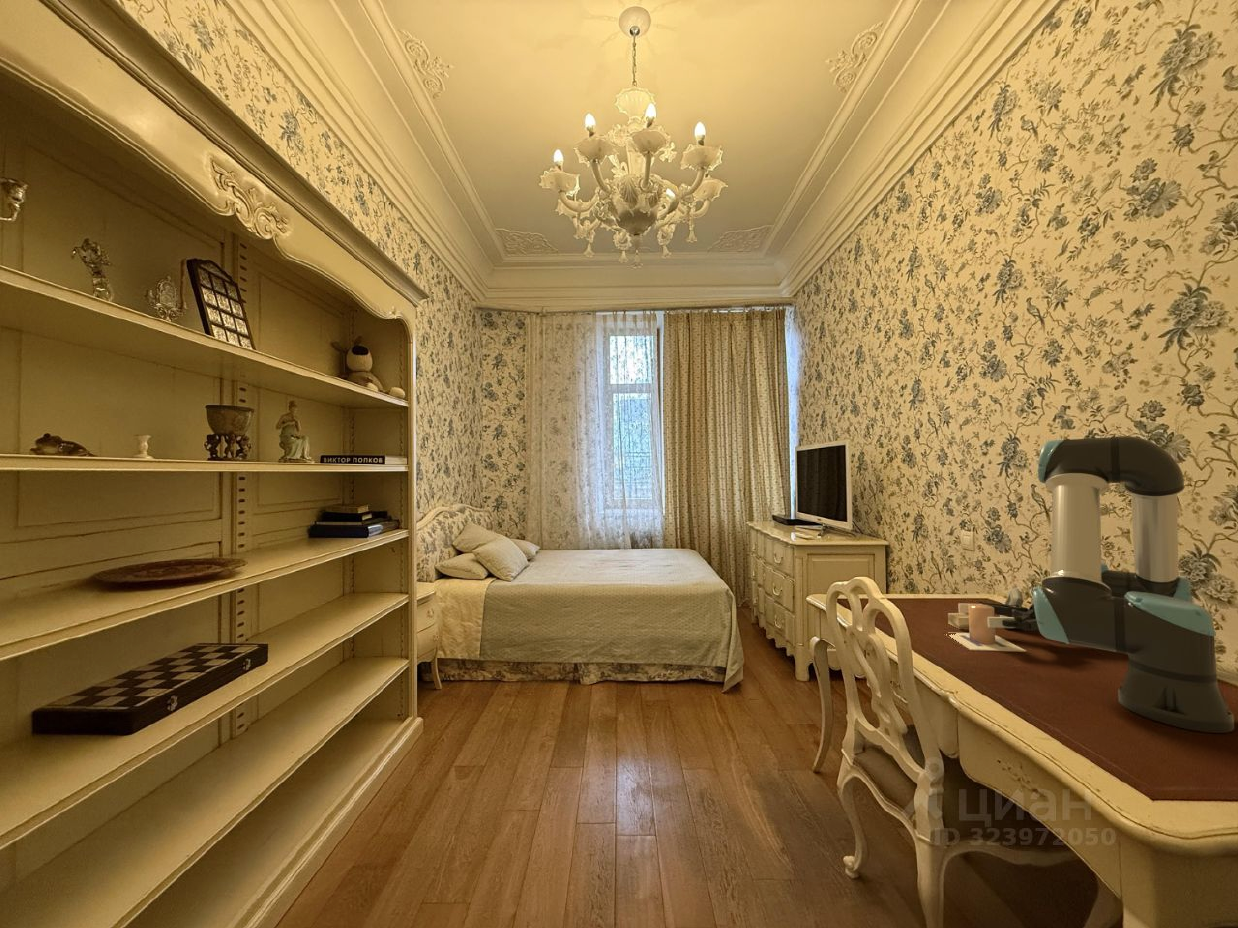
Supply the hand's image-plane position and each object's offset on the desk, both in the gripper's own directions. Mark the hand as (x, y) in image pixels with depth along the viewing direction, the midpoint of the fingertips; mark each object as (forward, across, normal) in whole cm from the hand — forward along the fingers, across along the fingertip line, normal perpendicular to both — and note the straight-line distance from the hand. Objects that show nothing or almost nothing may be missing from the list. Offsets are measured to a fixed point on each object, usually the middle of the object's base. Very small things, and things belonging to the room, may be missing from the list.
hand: (972, 614), depth 137 cm
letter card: (-2, 0, -8) cm, 8 cm away
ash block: (-4, +13, -8) cm, 16 cm away
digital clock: (-22, +18, -8) cm, 29 cm away
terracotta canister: (-2, 0, -8) cm, 8 cm away
